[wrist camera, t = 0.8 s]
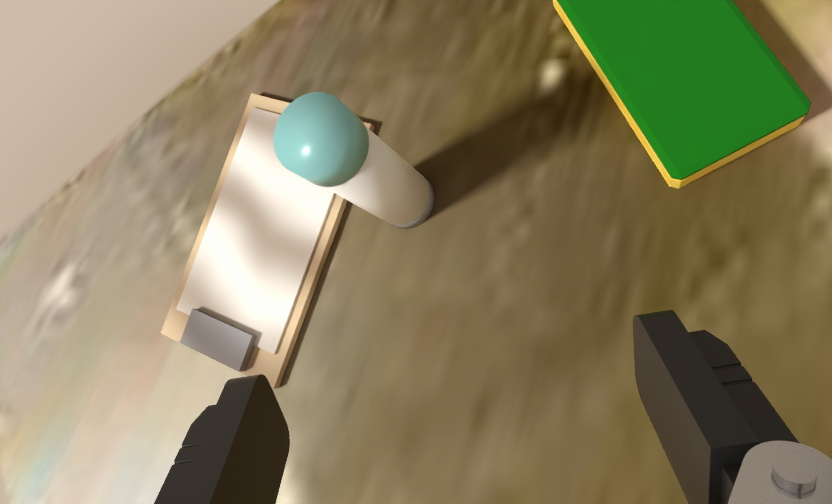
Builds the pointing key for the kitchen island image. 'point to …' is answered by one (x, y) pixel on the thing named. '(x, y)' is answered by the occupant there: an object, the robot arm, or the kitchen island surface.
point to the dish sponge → (687, 78)
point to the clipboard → (255, 255)
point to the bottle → (350, 160)
